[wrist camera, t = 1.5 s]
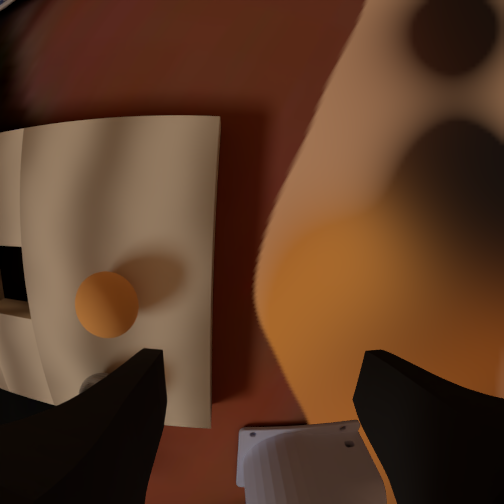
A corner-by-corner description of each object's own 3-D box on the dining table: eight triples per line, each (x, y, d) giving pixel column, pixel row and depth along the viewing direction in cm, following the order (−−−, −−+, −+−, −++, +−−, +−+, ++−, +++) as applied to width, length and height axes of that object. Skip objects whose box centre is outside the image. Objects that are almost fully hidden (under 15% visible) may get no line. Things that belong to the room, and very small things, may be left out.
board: (221, 125, 16) (219, 116, 14) (211, 404, 20) (210, 428, 18) (-21, 144, 15) (-43, 143, 12) (4, 369, 18) (-10, 384, 16)
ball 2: (134, 365, 16) (119, 399, 13) (140, 407, 17) (129, 441, 14) (85, 359, 16) (64, 388, 13) (94, 399, 17) (78, 431, 13)
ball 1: (144, 265, 15) (124, 285, 12) (147, 324, 16) (131, 354, 13) (88, 262, 15) (59, 280, 12) (93, 318, 15) (69, 345, 12)
